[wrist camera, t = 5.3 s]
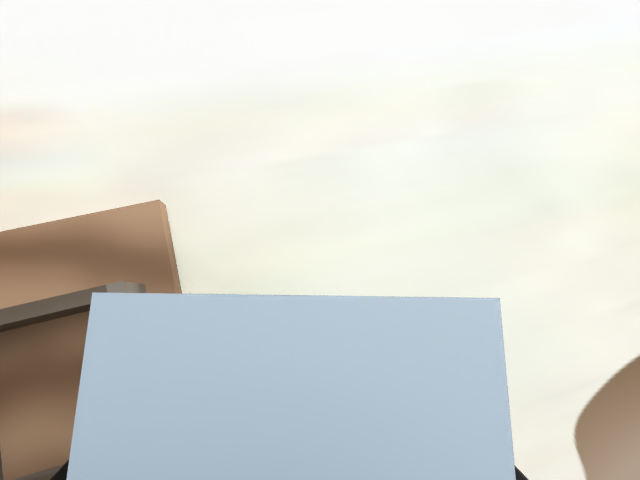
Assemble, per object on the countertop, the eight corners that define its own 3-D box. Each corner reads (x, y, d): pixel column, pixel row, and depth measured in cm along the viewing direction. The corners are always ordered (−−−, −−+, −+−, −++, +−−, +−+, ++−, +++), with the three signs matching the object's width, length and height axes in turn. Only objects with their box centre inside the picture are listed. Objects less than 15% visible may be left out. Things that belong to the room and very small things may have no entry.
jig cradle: (224, 522, 20) (208, 578, 16) (-19, 604, 18) (-108, 692, 14) (165, 205, 23) (139, 183, 19) (-47, 248, 21) (-126, 235, 17)
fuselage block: (339, 405, 15) (544, 796, 3) (236, 407, 15) (12, 869, 3) (339, 302, 16) (499, 297, 4) (242, 301, 16) (92, 292, 4)
